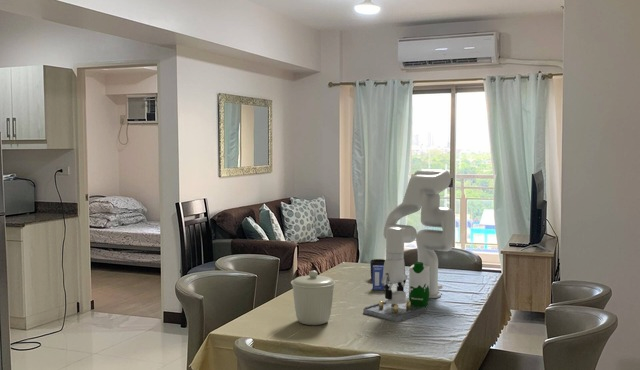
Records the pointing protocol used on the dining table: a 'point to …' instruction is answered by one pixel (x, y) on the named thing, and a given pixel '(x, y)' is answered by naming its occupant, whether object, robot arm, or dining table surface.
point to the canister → (313, 298)
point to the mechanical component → (397, 298)
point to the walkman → (378, 277)
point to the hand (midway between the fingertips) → (394, 297)
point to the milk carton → (419, 284)
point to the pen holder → (376, 264)
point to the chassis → (394, 311)
